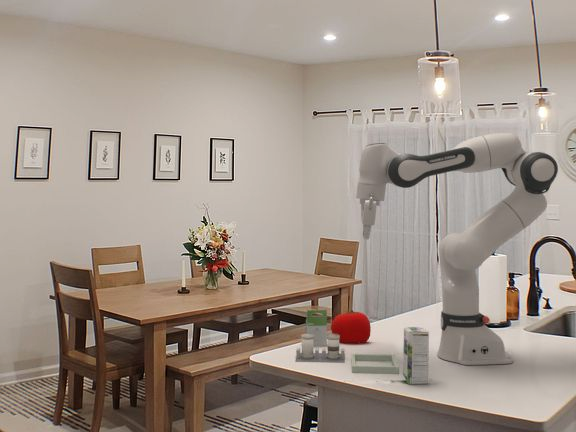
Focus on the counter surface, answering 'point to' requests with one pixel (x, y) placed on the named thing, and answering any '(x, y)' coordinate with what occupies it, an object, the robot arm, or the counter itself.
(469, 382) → the counter surface
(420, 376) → the syrup box
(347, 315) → the tomato
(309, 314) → the ink box
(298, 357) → the holder
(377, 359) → the tray
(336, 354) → the fuse
